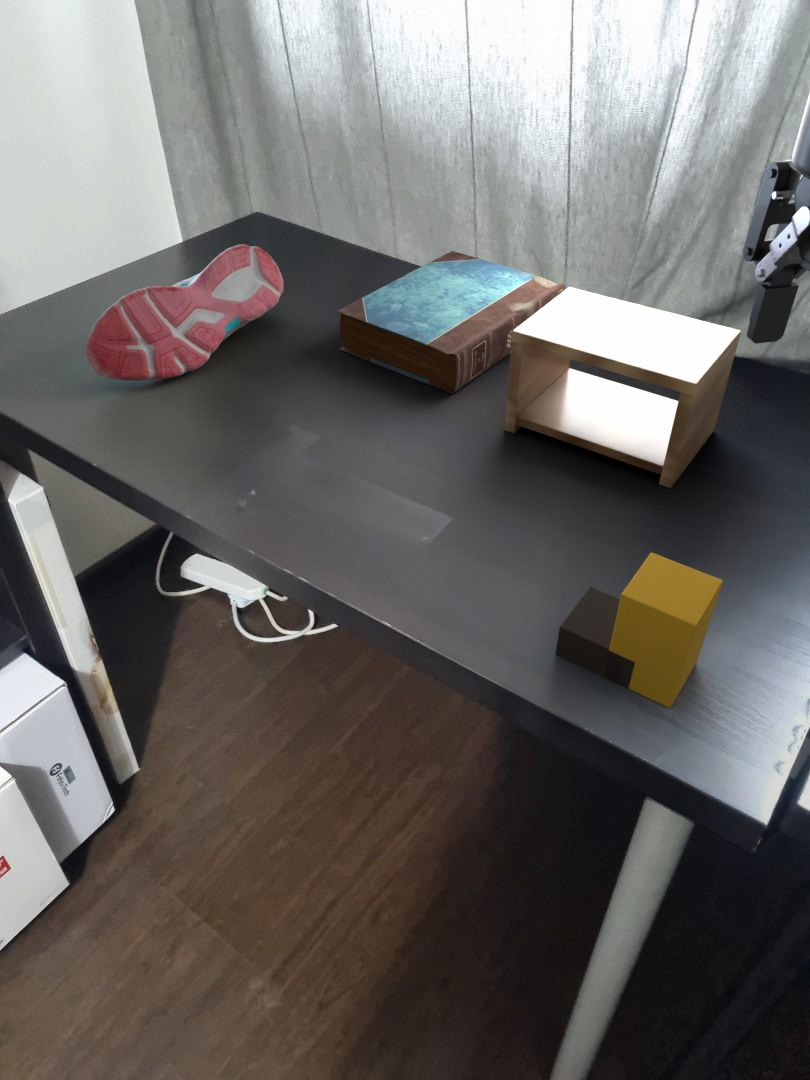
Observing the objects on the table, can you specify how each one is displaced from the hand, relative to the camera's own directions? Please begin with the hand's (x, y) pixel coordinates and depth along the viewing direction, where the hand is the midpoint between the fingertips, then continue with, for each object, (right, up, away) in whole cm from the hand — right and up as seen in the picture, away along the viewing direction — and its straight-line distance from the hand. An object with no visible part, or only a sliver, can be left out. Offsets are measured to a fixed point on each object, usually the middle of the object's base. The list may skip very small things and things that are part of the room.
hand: (799, 371), depth 50 cm
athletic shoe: (-49, +13, +50) cm, 72 cm away
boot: (-7, -19, +12) cm, 24 cm away
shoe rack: (-3, +1, +35) cm, 35 cm away
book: (-18, +15, +52) cm, 57 cm away
